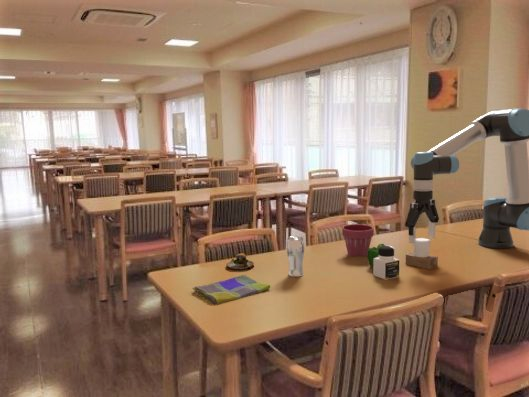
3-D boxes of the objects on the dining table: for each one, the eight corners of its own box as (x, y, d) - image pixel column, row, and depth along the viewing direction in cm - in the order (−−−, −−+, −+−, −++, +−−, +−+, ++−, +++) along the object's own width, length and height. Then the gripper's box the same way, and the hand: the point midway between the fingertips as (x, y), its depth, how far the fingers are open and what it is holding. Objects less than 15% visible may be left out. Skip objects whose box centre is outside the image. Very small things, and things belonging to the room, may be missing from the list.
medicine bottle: (385, 280, 173) (385, 249, 171) (372, 275, 179) (373, 245, 178) (399, 277, 176) (400, 247, 175) (386, 272, 183) (387, 243, 181)
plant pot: (368, 259, 201) (368, 231, 199) (337, 256, 208) (337, 229, 206) (377, 252, 213) (377, 225, 211) (348, 249, 220) (348, 223, 218)
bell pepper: (366, 269, 188) (366, 245, 186) (368, 263, 195) (368, 241, 194) (387, 270, 185) (387, 246, 183) (388, 265, 192) (389, 242, 191)
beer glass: (306, 272, 185) (305, 236, 183) (302, 277, 179) (301, 240, 177) (290, 271, 188) (289, 235, 185) (285, 276, 181) (284, 239, 179)
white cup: (431, 258, 187) (431, 241, 186) (414, 257, 188) (414, 241, 187) (428, 253, 193) (429, 237, 192) (412, 253, 195) (412, 237, 194)
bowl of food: (220, 268, 196) (220, 251, 195) (240, 262, 204) (240, 245, 203) (240, 273, 188) (239, 256, 186) (259, 266, 196) (259, 250, 195)
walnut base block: (414, 260, 198) (415, 251, 197) (437, 266, 189) (437, 256, 188) (405, 263, 194) (405, 254, 193) (428, 269, 185) (428, 259, 184)
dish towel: (272, 291, 166) (272, 284, 165) (212, 307, 153) (212, 299, 152) (247, 279, 180) (247, 272, 180) (191, 292, 167) (190, 285, 167)
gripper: (432, 186, 197) (431, 233, 200) (396, 192, 182) (395, 243, 185) (448, 187, 191) (447, 236, 194) (412, 193, 176) (411, 247, 179)
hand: (422, 240), depth 190 cm, fingers open, 13 cm apart
